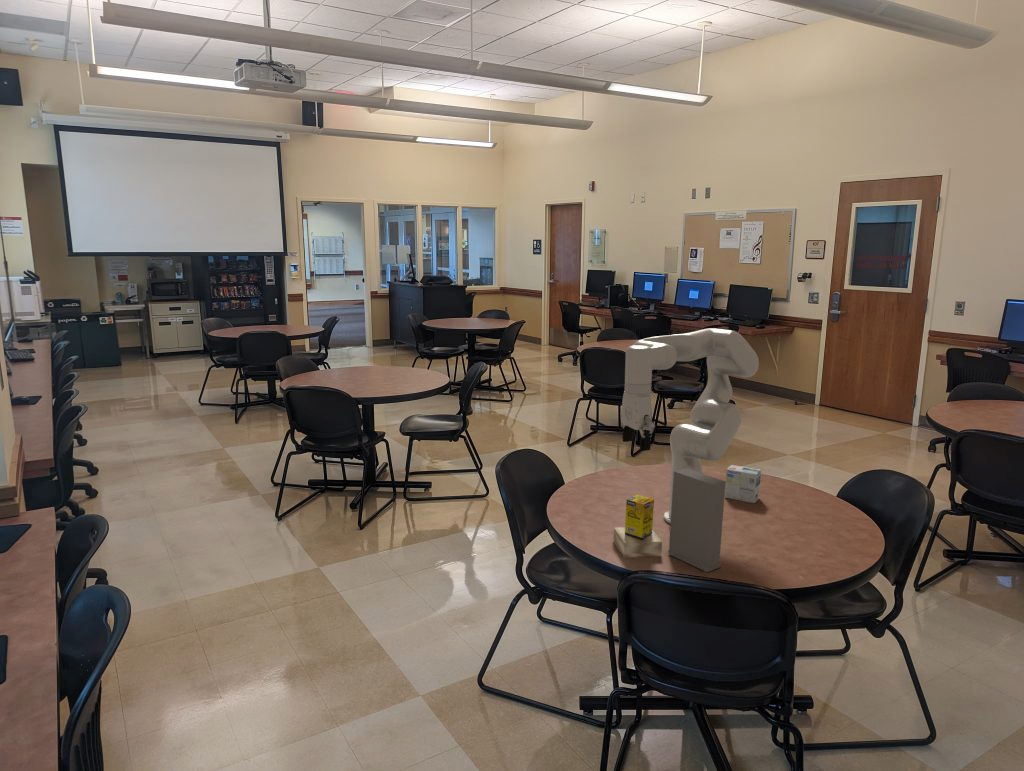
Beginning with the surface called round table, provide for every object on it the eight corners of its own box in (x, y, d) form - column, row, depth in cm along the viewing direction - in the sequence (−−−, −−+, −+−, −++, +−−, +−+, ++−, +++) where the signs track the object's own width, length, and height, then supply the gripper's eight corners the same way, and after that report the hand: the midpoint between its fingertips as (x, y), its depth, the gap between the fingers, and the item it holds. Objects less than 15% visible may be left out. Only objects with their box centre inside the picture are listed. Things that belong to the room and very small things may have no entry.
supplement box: (642, 540, 196) (644, 504, 194) (624, 534, 200) (625, 499, 198) (652, 534, 201) (654, 498, 199) (634, 528, 205) (636, 493, 202)
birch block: (648, 541, 208) (649, 526, 207) (661, 557, 197) (662, 541, 196) (613, 543, 206) (613, 527, 205) (623, 559, 196) (624, 542, 195)
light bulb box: (759, 498, 244) (762, 469, 242) (754, 504, 238) (757, 474, 236) (728, 492, 250) (731, 463, 248) (723, 497, 244) (725, 468, 242)
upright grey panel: (721, 567, 190) (728, 480, 185) (706, 573, 187) (713, 485, 182) (682, 549, 201) (687, 467, 196) (668, 554, 198) (673, 471, 193)
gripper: (611, 383, 205) (610, 439, 209) (642, 395, 189) (640, 455, 193) (633, 381, 208) (632, 436, 211) (665, 393, 192) (663, 452, 196)
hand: (636, 445), depth 202 cm, fingers open, 9 cm apart
